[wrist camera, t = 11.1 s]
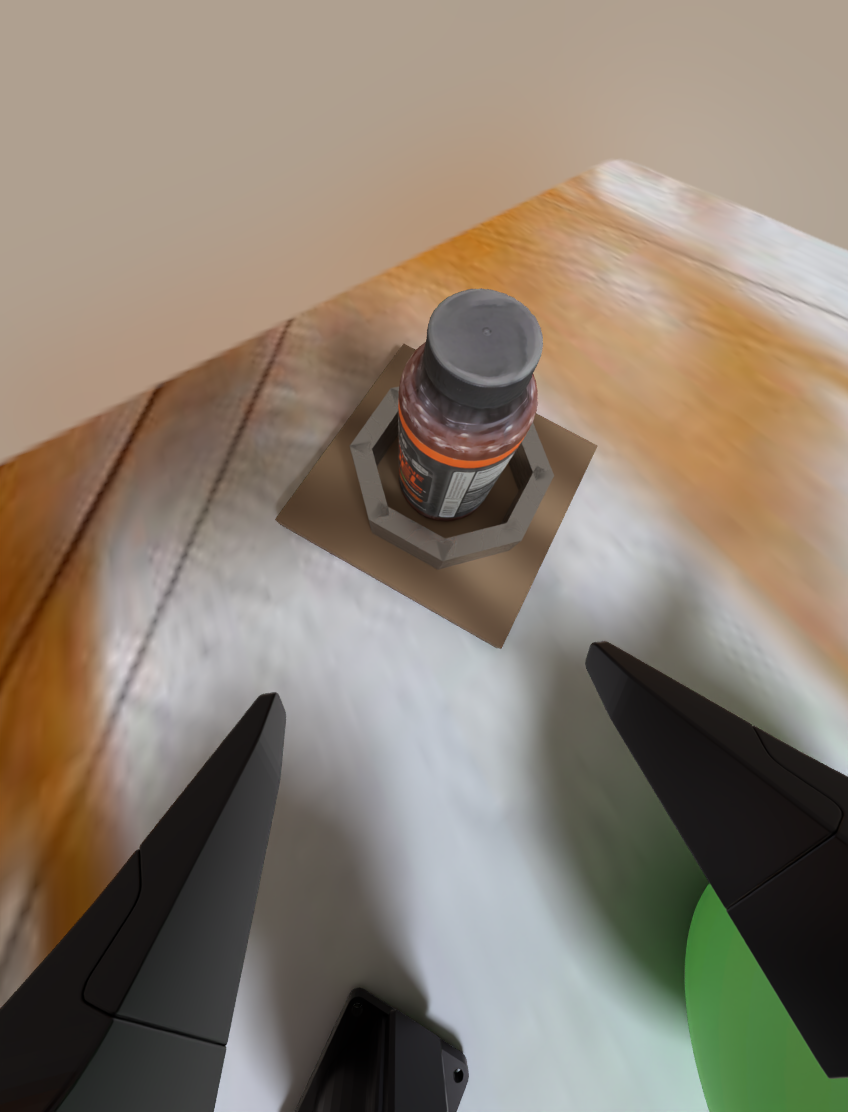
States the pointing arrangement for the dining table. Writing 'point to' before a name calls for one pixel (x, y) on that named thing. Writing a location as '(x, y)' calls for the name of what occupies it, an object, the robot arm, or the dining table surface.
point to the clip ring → (422, 542)
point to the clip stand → (436, 523)
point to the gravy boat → (746, 1027)
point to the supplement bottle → (466, 401)
